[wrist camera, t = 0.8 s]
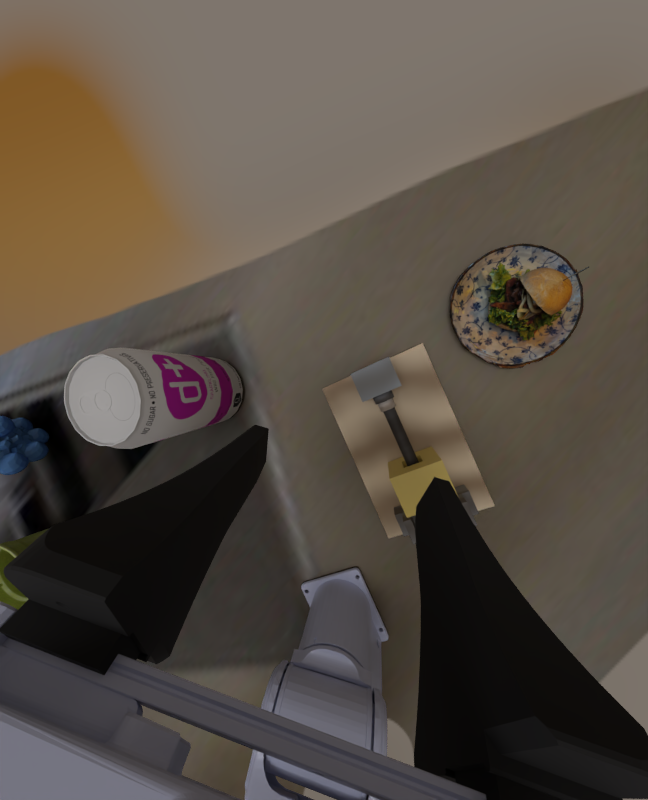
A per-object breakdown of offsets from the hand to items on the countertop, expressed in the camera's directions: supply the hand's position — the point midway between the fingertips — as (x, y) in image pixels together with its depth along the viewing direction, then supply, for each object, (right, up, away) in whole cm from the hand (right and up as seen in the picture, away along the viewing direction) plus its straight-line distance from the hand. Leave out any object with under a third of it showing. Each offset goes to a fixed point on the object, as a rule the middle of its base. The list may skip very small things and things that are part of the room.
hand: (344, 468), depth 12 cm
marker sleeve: (+9, -5, +18) cm, 21 cm away
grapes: (-42, -1, +30) cm, 51 cm away
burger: (+18, +12, +17) cm, 28 cm away
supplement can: (-15, +4, +24) cm, 28 cm away
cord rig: (+8, -2, +19) cm, 21 cm away
